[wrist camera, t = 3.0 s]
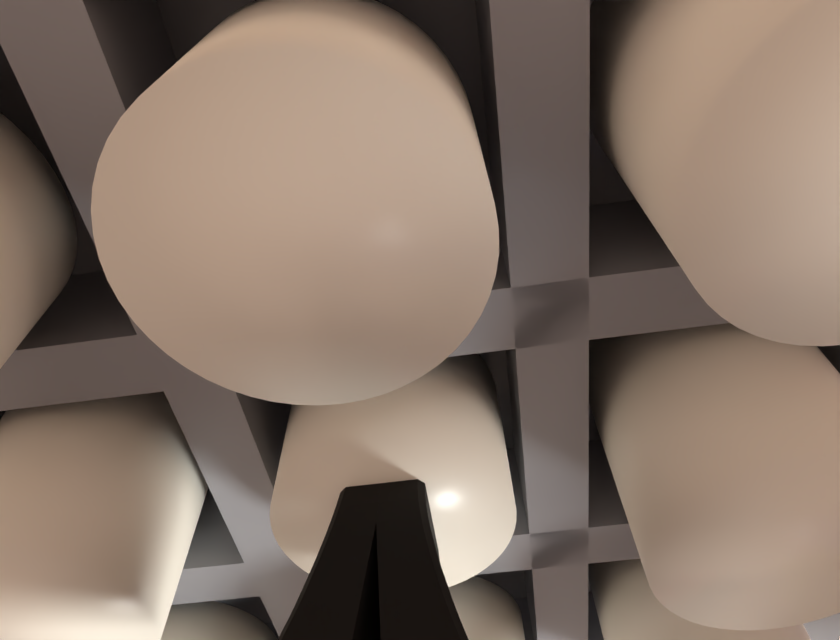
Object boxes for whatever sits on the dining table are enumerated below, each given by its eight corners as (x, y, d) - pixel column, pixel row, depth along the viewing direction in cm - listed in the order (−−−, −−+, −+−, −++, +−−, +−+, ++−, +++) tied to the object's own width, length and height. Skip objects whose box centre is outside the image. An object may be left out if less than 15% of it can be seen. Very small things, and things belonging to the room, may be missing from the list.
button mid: (488, 309, 13) (507, 419, 10) (503, 464, 15) (522, 583, 13) (270, 336, 13) (238, 450, 10) (319, 484, 15) (302, 605, 13)
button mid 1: (458, -37, 8) (480, 9, 6) (487, 260, 11) (511, 383, 8) (127, 16, 9) (13, 82, 6) (227, 293, 11) (174, 423, 8)
